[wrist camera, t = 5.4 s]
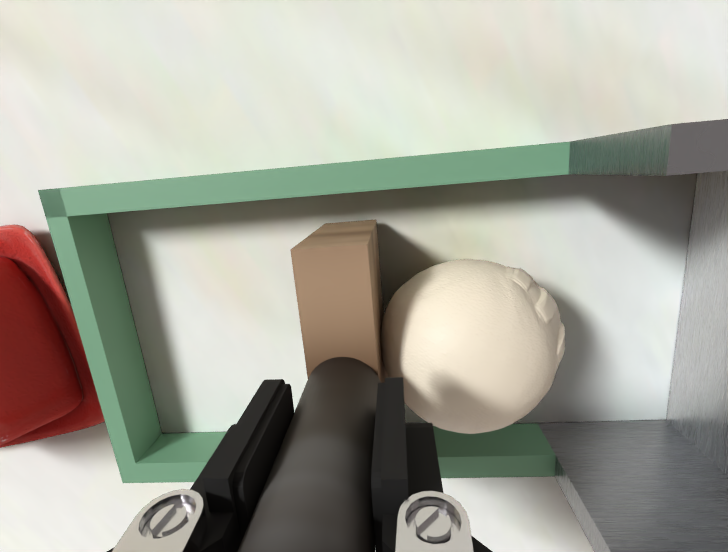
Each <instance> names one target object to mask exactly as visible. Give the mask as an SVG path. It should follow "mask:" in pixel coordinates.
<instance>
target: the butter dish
mask: <svg viewBox="0 0 728 552" xmlns="http://www.w3.org/2000/svg"><path fill="white" fill-rule="evenodd" d="M104 421H105V419H104V416H103V413H102V409H101V406H100V402H99V399H98V395H97V392H96V388H95V385H94V381H93V378H92V375H91V371H90V368H89V364H88V361H87V357H86V354H85V350H84V347H83V344H82V340H81V337H80V333H79V330H78V326H77V323H76V319H75V316H74V313H73V309H72V306H71V304H70V302H69V300H68V298H67V296H66V294H65V291H64V289H63V287H62V285H61V283H60V281H59V279H58V277H57V275H56V273H55V271H54V269H53V267H52V265H51V263H50V261H49V260H48V258H47V256H46V254H45V252H44V250H43V248H42V247H41V245H40V243H39V242H38V240H37V239H36V238H35V236H34V235H33V234H32V233H31V232H30V231H29V230H27V229H26V228H25V227H23V226H19V225H5V226H0V447H5V446H10V445H15V444H21V443H25V442H30V441H34V440H38V439H43V438H47V437H52V436H56V435H60V434H65V433H69V432H73V431H78V430H81V429H85V428H88V427H91V426H94V425H97V424H100V423H102V422H104Z"/></svg>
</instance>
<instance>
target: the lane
mask: <svg viewBox="0 0 728 552" xmlns="http://www.w3.org/2000/svg"><path fill="white" fill-rule="evenodd" d="M569 154H570V142H561V143H550V144H539V145H528V146H518V147H507V148H496V149H485V150H474V151H463V152H452V153H441V154H430V155H419V156H408V157H397V158H386V159H375V160H364V161H353V162H342V163H331V164H320V165H309V166H298V167H288V168H277V169H266V170H255V171H244V172H233V173H222V174H211V175H200V176H189V177H178V178H167V179H156V180H145V181H134V182H123V183H112V184H101V185H90V186H79V187H69V188H58V189H47V190H38V192H39V195H40V199H41V202H42V206H43V209H44V212H45V216H46V219H47V223H48V226H49V230H50V233H51V237H52V240H53V244H54V247H55V250H56V254H57V257H58V261H59V264H60V268H61V271H62V275H63V278H64V281H65V285H66V288H67V292H68V295H69V299H70V302H71V306H72V309H73V313H74V316H75V319H76V323H77V326H78V330H79V333H80V337H81V340H82V344H83V347H84V350H85V354H86V357H87V361H88V364H89V368H90V371H91V375H92V378H93V381H94V385H95V388H96V392H97V395H98V399H99V402H100V406H101V409H102V413H103V416H104V419H105V423H106V426H107V430H108V433H109V437H110V440H111V444H112V447H113V450H114V454H115V457H116V461H117V464H118V468H119V471H120V475H121V478H122V482H123V483H155V482H195V481H196V479H197V478H198V476H199V475H200V473H201V472H202V470H203V468H204V467H205V465H206V464H207V462H208V461H209V459H210V457H211V456H212V454H213V453H214V451H215V450H216V448H217V447H218V445H219V443H220V442H221V440H222V439H223V437H224V436H225V434H226V432H201V433H165V434H162V432H161V428H160V424H159V420H158V416H157V412H156V408H155V404H154V400H153V396H152V392H151V388H150V384H149V380H148V376H147V372H146V368H145V364H144V360H143V356H142V352H141V348H140V344H139V340H138V336H137V332H136V328H135V324H134V320H133V316H132V312H131V308H130V304H129V300H128V296H127V292H126V288H125V284H124V280H123V276H122V272H121V268H120V264H119V260H118V256H117V252H116V248H115V244H114V240H113V236H112V232H111V228H110V224H109V220H108V216H107V213H114V212H125V211H137V210H149V209H161V208H173V207H185V206H197V205H209V204H221V203H233V202H245V201H257V200H268V199H280V198H292V197H304V196H316V195H328V194H340V193H352V192H364V191H376V190H388V189H399V188H411V187H423V186H435V185H447V184H459V183H471V182H483V181H495V180H507V179H519V178H531V177H542V176H554V175H566V174H569ZM433 430H434V436H435V443H436V449H437V456H438V462H439V468H440V475H441V478H482V477H547V476H555V457H556V455H555V453H554V451H553V450H552V448H551V446H550V444H549V443H548V441H547V439H546V437H545V436H544V434H543V432H542V430H541V429H540V427H539V425H538V423H528V424H511V425H509V426H506V427H504V428H501V429H498V430H494V431H489V432H483V433H476V434H466V433H457V432H453V431H448V430H444V429H441V428H438V427H436V426H433Z"/></svg>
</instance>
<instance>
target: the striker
mask: <svg viewBox="0 0 728 552" xmlns="http://www.w3.org/2000/svg"><path fill="white" fill-rule="evenodd" d="M291 257H292V264H293V272H294V279H295V287H296V294H297V301H298V309H299V316H300V324H301V331H302V338H303V346H304V353H305V361H306V368H307V376H308V381H307V383H306V386H305V388H304V391H303V393H302V396H301V398H300V401H299V403H298V405H297V408H296V410H295V413H294V415H293V418H292V420H291V422H290V425H289V427H288V430H287V432H286V435H285V437H284V439H283V442H282V444H281V447H280V449H279V452H278V454H277V457H276V459H275V461H274V464H273V466H272V469H271V471H270V474H269V476H268V478H267V481H266V483H265V486H264V488H263V491H262V493H261V495H260V498H259V500H258V503H257V505H256V508H255V510H254V512H253V515H252V517H251V520H250V522H249V525H248V527H247V530H246V532H245V534H244V537H243V539H242V542H241V544H240V547H239V549H238V551H237V552H375V534H374V520H373V505H372V490H371V470H372V456H373V443H374V429H375V416H376V403H377V389H378V383H384V382H385V378H387V377H388V374H387V371H386V368H385V365H384V362H383V357H382V349H381V327H382V321H383V317H384V313H383V300H382V287H381V274H380V261H379V248H378V235H377V222H376V220H365V221H352V222H339V223H326V224H324V225H323V226H321V227H320V228H319V229H317V230H316V231H315V232H313V233H312V234H311V235H310V236H308V237H307V238H306V239H304V240H303V241H302V242H300V243H299V244H298V245H296V246H295V247H294V248H292V249H291Z"/></svg>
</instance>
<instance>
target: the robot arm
mask: <svg viewBox="0 0 728 552" xmlns="http://www.w3.org/2000/svg"><path fill="white" fill-rule="evenodd" d="M293 415H294V407H293V399H292V391H291V386H290V384H285V382H284V380H283V379H279V380H264V381H263V382H262V384H261V386H260V387H259V389H258V390H257V392H256V394H255V395H254V397H253V398H252V400H251V402H250V403H249V405H248V406H247V408H246V410H245V411H244V413H243V414H242V416H241V418H240V419H239V421H238V423H237V424H234V425H232V426H231V427H230V428H229V429H228V431H227V432H226V434H225V436H224V437H223V439H222V440H221V442H220V443H219V445H218V447H217V448H216V450H215V451H214V453H213V454H212V456H211V457H210V459H209V461H208V462H207V464H206V465H205V467H204V468H203V470H202V472H201V473H200V475H199V476H198V478H197V479H196V481H195V482H194V484H193V486H192V487H191V489H190V490H187V489H181V490H175V491H171V492H168V493H166V494H163V495H161V496H159V497H157V498H156V499H154V500H152V501H151V502H150V503H148V504H147V505H146V506H145V507H143V508H142V509H141V511H140V512H139V513H138V514H137V515H136V517H135V518H134V519H133V521H132V522H131V524H130V525H129V527H128V528H127V530H126V531H125V533H124V534H123V536H122V537H121V539H120V540H119V542H118V543H117V545H116V546H115V547H114V548H112V549H111V550H109V551H107V552H237V551H238V549H239V547H240V544H241V542H242V539H243V537H244V534H245V532H246V530H247V527H248V525H249V522H250V520H251V517H252V515H253V512H254V510H255V508H256V505H257V503H258V500H259V498H260V495H261V493H262V491H263V488H264V486H265V483H266V481H267V478H268V476H269V474H270V471H271V469H272V466H273V464H274V461H275V459H276V457H277V454H278V452H279V449H280V447H281V444H282V442H283V439H284V437H285V435H286V432H287V430H288V427H289V425H290V422H291V420H292V418H293ZM371 490H372V505H373V520H374V534H375V549H376V552H492V551H491V550H489V549H488V548H487V547H486V546H484V545H483V544H482V543H480V542H479V541H478V540H476V539H475V538H474V537H472V536H471V530H470V523H469V519H468V516H467V513H466V511H465V509H464V508H463V507H462V505H461V504H460V503H459V502H458V501H456V500H455V499H454V498H453V497H451V496H449V495H446V494H444V493H443V488H442V481H441V475H440V468H439V462H438V456H437V449H436V443H435V436H434V430H433V424H432V423H405V407H404V385H403V377H387V378H385V382H384V383H378V389H377V403H376V416H375V429H374V443H373V456H372V470H371Z"/></svg>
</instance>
